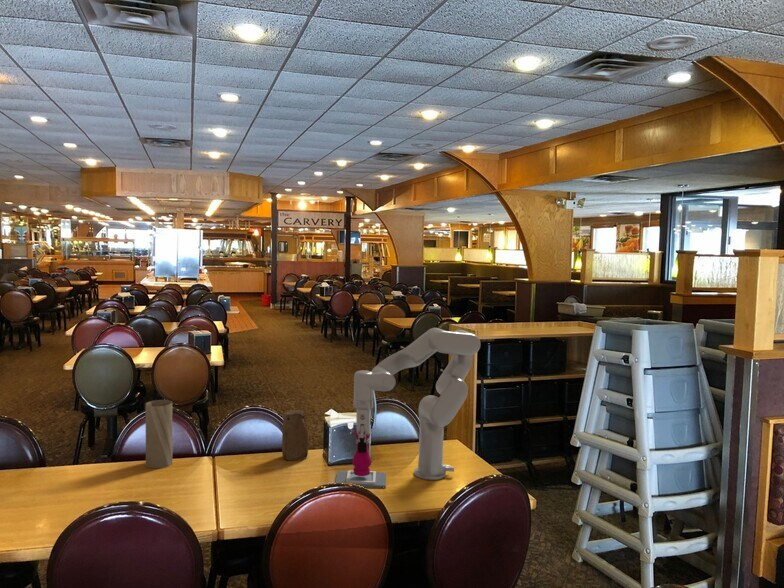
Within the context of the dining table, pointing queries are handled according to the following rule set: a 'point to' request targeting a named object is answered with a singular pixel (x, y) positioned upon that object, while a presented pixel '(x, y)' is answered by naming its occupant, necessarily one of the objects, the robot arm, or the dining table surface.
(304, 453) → the block
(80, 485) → the dining table surface
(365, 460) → the pepper mill
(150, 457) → the tube
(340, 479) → the grey panel
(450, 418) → the robot arm
